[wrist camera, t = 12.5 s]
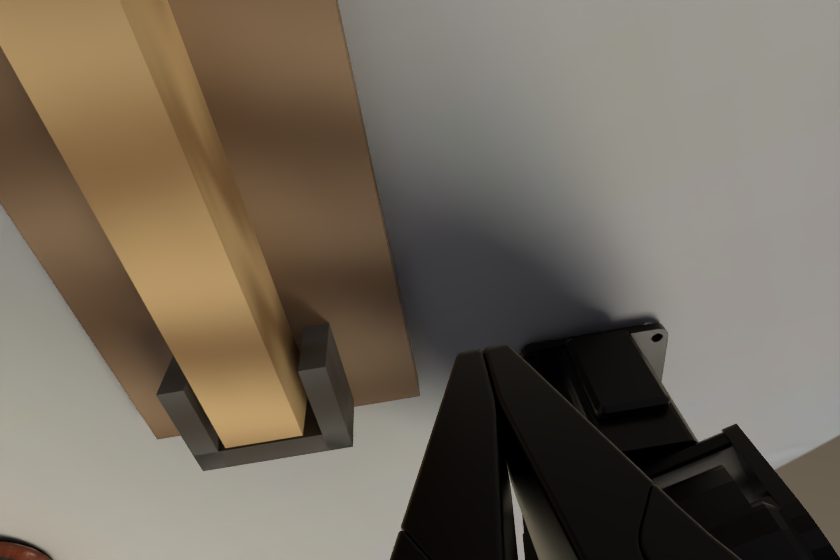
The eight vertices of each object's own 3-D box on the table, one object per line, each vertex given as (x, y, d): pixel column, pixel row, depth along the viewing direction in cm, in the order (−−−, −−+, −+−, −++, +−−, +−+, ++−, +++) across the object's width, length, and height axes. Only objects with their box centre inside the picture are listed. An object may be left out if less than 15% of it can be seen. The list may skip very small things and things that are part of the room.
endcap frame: (418, 379, 25) (424, 441, 22) (164, 421, 25) (138, 488, 22) (209, -597, 10) (147, -798, 7) (-403, -473, 10) (-700, -620, 7)
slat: (309, 379, 23) (302, 435, 21) (240, 390, 23) (225, 448, 21) (9, -421, 10) (-101, -523, 8) (-140, -392, 11) (-296, -484, 8)
